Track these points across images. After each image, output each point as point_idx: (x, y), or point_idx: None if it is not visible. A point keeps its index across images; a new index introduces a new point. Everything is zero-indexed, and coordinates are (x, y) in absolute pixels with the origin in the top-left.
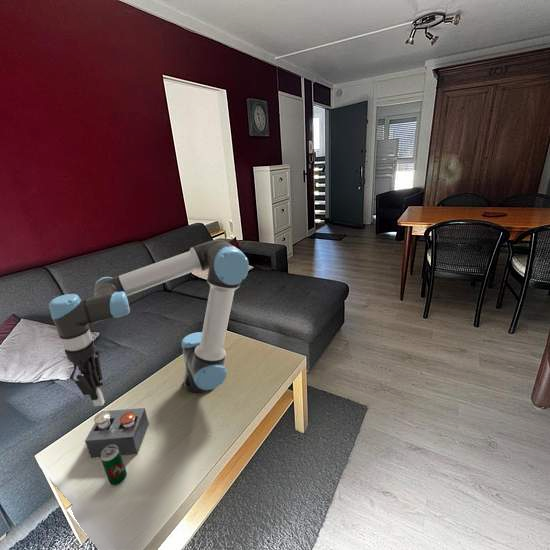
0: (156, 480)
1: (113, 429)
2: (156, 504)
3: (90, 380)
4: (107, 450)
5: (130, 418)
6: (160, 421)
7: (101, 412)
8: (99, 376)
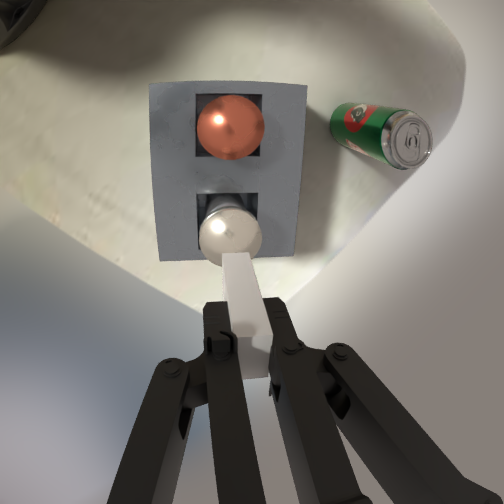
0: (367, 28)
1: (258, 175)
2: (416, 30)
3: (339, 444)
4: (410, 149)
5: (243, 107)
6: (155, 52)
7: (206, 252)
8: (181, 398)
